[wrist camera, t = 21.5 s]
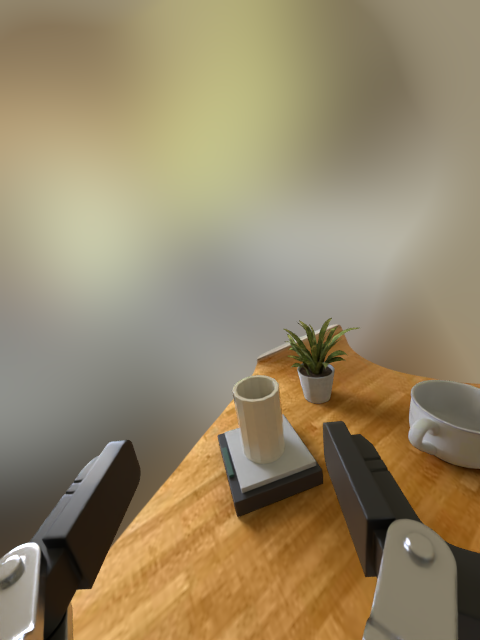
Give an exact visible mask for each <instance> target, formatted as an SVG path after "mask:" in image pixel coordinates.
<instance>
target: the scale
mask: <svg viewBox="0 0 480 640" xmlns="http://www.w3.org/2000/svg"><path fill="white" fill-rule="evenodd" d="M282 418H283V427H284V435H285V451H284V453H283V455H282V456H281V457H280V458H279V459H278V460H276V461H274V462H272V463H267V464H259V463H255V462H253V461H251V460H249V459H248V458H247V457H246V455H245V454H244V451H243V447H242V442H241V436H240V431H239V428H237V429H234V430H231V431H228V432H225V433H223V434H220V435H218V440H219V445H220V449H221V453H222V457H223V461H224V465H225V469H226V473H227V477H228V482H229V486H230V490H231V494H232V498H233V502H234V506H235V510H236V514H237V517H239V516H241V515H244V514H246V513H249V512H251V511H254V510H257V509H259V508H262V507H264V506H267V505H269V504H272V503H274V502H277V501H279V500H282V499H285V498H287V497H290V496H292V495H295V494H297V493H300V492H302V491H305V490H307V489H310V488H313V487H315V486H318V485H320V484H323V473H322V469H321V467H320V466H319V464H318V463H317V462H316V460H315V459H314V457H313V456H312V454H311V453H310V452H309V450H308V449H307V447H306V446H305V444H304V443H303V442H302V440H301V439H300V437H299V436H298V434H297V433H296V432H295V430H294V429H293V427H292V426H291V424H290V423H289V422H288V420H287V419H286V417H285V416H284V415H283V414H282Z"/></svg>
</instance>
